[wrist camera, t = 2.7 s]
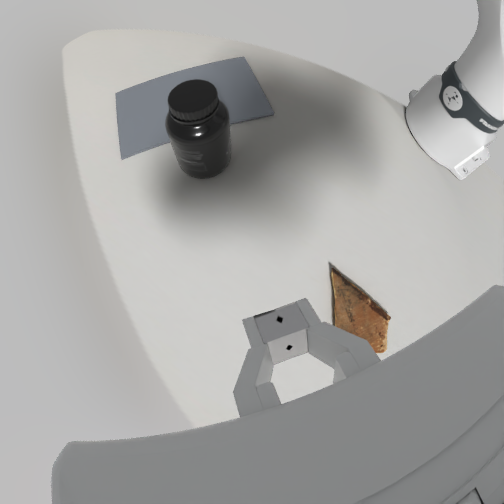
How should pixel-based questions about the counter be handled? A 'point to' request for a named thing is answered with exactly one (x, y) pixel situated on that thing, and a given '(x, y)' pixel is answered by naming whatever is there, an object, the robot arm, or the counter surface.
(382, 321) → the shard
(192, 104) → the supplement bottle
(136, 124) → the mat
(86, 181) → the counter surface
